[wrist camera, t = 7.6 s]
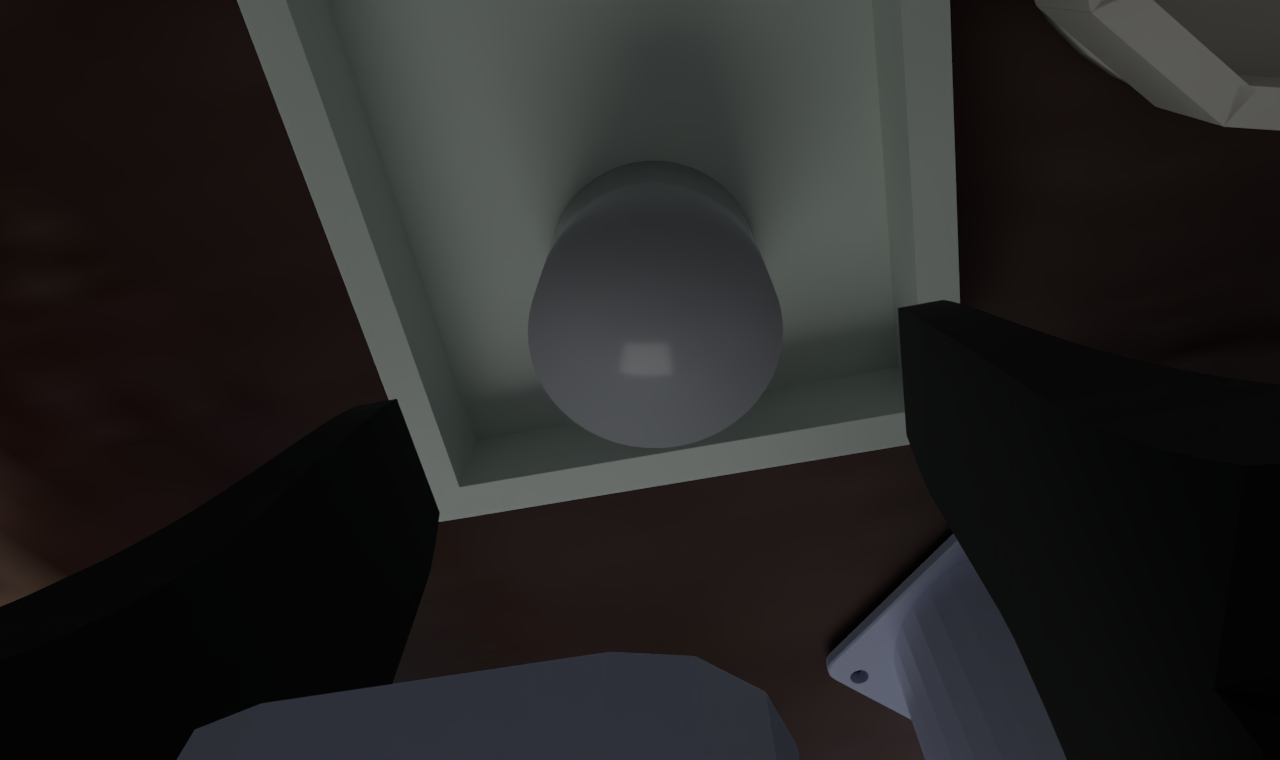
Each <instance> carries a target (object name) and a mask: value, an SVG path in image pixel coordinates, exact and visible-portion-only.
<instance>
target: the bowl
mask: <svg viewBox="0 0 1280 760" xmlns="http://www.w3.org/2000/svg"><path fill="white" fill-rule="evenodd" d="M1033 2H1034V3H1035V5H1036V6H1037V7H1038V9H1039V10H1040V11H1041V13H1042V14H1043V16H1044V17H1045V18H1046V20H1047V21H1048V22H1049V24H1050V25H1051V27H1052V28H1053V29H1054V30H1055V31H1056V32H1057V33H1058V34H1059V35H1060V36H1061V37H1062V38H1063V39H1064V40H1065V41H1066V42H1067V43H1068V44H1069V45H1070V46H1071V47H1072V48H1073V49H1074V50H1075V51H1076V52H1078V53H1079V54H1080V55H1081V56H1083V57H1084V58H1086V59H1087V60H1088V61H1090V62H1091V63H1093V64H1094V65H1095V66H1097V67H1098V68H1100V69H1101V70H1103V71H1104V72H1105V73H1107V74H1108V75H1110V76H1112V77H1114V78H1116V79H1119V80H1121V81H1123V82H1125V83H1127V84H1129V85H1130V86H1132V87H1133V88H1134V89H1135V90H1136V91H1138V92H1139V93H1140V94H1141V95H1142V96H1144V97H1145V98H1146V99H1147V100H1148V101H1149V102H1151V103H1152V104H1153V105H1154V106H1155V107H1158V108H1162V109H1165V110H1169V111H1172V112H1176V113H1179V114H1182V115H1186V116H1189V117H1193V118H1196V119H1200V120H1203V121H1206V122H1210V123H1213V124H1217V125H1220V126H1224V127H1236V128H1251V129H1266V130H1280V0H1033Z"/></svg>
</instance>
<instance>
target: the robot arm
mask: <svg viewBox="0 0 1280 760" xmlns="http://www.w3.org/2000/svg"><path fill="white" fill-rule="evenodd" d="M898 320H899V334H900V349H901V364H902V378H903V393H904V407H905V422H906V435H907V438H908V441H909V443H910V446H911V448H912V451H913V453H914V456H915V459H916V461H917V464H918V466H919V469H920V471H921V474H922V476H923V478H924V481H925V483H926V486H927V488H928V490H929V492H930V494H931V496H932V497H933V499H934V501H935V503H936V505H937V506H938V508H939V510H940V511H941V513H942V515H943V517H944V518H945V520H946V522H947V523H948V525H949V527H950V529H951V530H952V532H953V534H952V535H951V536H950V537H949V538H948V539H947V540H946V541H945V542H944V543H943V544H942V545H941V546H940V547H939V548H938V549H937V550H936V551H935V552H934V553H933V554H932V555H931V556H930V557H928V558H927V559H926V560H925V561H924V562H923V563H922V564H921V565H920V566H919V567H918V568H917V569H916V570H915V571H914V572H913V573H912V574H911V575H910V576H909V577H908V578H907V579H906V580H905V581H904V582H903V583H902V584H901V585H900V586H899V587H898V588H897V589H896V590H895V591H893V592H892V593H891V594H890V595H889V596H888V597H887V598H886V599H885V600H884V601H883V602H882V603H881V604H880V605H879V606H878V607H877V608H876V609H875V610H874V611H873V612H872V613H871V614H870V615H869V616H868V617H867V618H866V619H865V620H864V621H863V622H862V623H861V624H859V625H858V626H857V627H856V628H855V629H854V630H853V631H852V632H851V633H850V634H849V635H848V636H847V637H846V638H845V639H844V640H843V641H842V642H841V643H840V644H839V645H838V646H837V647H836V648H835V649H834V650H833V651H832V652H831V653H830V654H829V655H828V657H827V659H826V665H827V669H828V672H829V674H830V676H831V677H832V678H834V679H835V680H837V681H839V682H841V683H843V684H845V685H847V686H848V687H850V688H852V689H854V690H856V691H858V692H860V693H862V694H864V695H865V696H867V697H869V698H871V699H873V700H875V701H877V702H879V703H881V704H882V705H884V706H886V707H888V708H890V709H892V710H894V711H896V712H898V713H900V714H901V715H903V716H905V717H907V718H909V719H911V720H912V723H913V725H914V728H915V731H916V734H917V737H918V740H919V743H920V746H921V748H922V751H923V754H924V757H925V760H1280V385H1276V384H1268V383H1260V382H1251V381H1243V380H1236V379H1229V378H1223V377H1217V376H1211V375H1205V374H1199V373H1194V372H1189V371H1184V370H1179V369H1175V368H1170V367H1165V366H1160V365H1155V364H1150V363H1145V362H1141V361H1137V360H1133V359H1129V358H1125V357H1121V356H1118V355H1114V354H1111V353H1107V352H1104V351H1100V350H1097V349H1093V348H1090V347H1086V346H1083V345H1079V344H1076V343H1073V342H1070V341H1067V340H1063V339H1060V338H1057V337H1054V336H1051V335H1048V334H1045V333H1042V332H1039V331H1037V330H1034V329H1031V328H1028V327H1025V326H1022V325H1020V324H1017V323H1014V322H1011V321H1008V320H1006V319H1003V318H1000V317H997V316H995V315H992V314H989V313H986V312H984V311H981V310H978V309H975V308H972V307H969V306H966V305H963V304H960V303H956V302H952V301H947V300H939V301H934V302H928V303H922V304H917V305H911V306H906V307H900V308H898ZM439 515H440V512H439V509H438V507H437V504H436V501H435V499H434V496H433V493H432V491H431V488H430V485H429V483H428V480H427V477H426V475H425V472H424V470H423V467H422V464H421V462H420V459H419V456H418V454H417V451H416V448H415V446H414V443H413V440H412V438H411V435H410V432H409V430H408V427H407V424H406V422H405V419H404V416H403V414H402V411H401V408H400V406H399V403H398V400H397V399H393V400H387V401H382V402H376V403H370V404H365V405H359V406H356V407H354V408H351V409H349V410H347V411H345V412H343V413H341V414H340V415H338V416H336V417H334V418H333V419H331V420H329V421H328V422H326V423H325V424H323V425H321V426H320V427H318V428H317V429H315V430H314V431H312V432H311V433H309V434H308V435H306V436H305V437H303V438H302V439H300V440H299V441H298V442H296V443H295V444H293V445H292V446H290V447H289V448H287V449H286V450H284V451H283V452H281V453H280V454H279V455H277V456H276V457H274V458H273V459H271V460H270V461H268V462H267V463H265V464H264V465H263V466H261V467H260V468H258V469H257V470H255V471H254V472H252V473H251V474H249V475H248V476H246V477H245V478H243V479H242V480H240V481H238V482H237V483H235V484H234V485H232V486H231V487H229V488H228V489H226V490H224V491H223V492H221V493H220V494H218V495H217V496H215V497H214V498H212V499H210V500H209V501H207V502H206V503H204V504H203V505H201V506H200V507H198V508H197V509H195V510H193V511H192V512H190V513H189V514H187V515H185V516H184V517H182V518H180V519H179V520H177V521H175V522H173V523H172V524H170V525H168V526H166V527H165V528H163V529H161V530H159V531H158V532H156V533H154V534H152V535H150V536H149V537H147V538H145V539H143V540H141V541H139V542H137V543H136V544H134V545H132V546H130V547H128V548H126V549H124V550H123V551H121V552H119V553H117V554H115V555H113V556H111V557H109V558H107V559H105V560H103V561H101V562H99V563H97V564H95V565H92V566H90V567H88V568H86V569H84V570H82V571H79V572H77V573H75V574H73V575H71V576H69V577H67V578H64V579H62V580H60V581H58V582H56V583H54V584H51V585H49V586H47V587H45V588H43V589H41V590H38V591H36V592H34V593H32V594H30V595H28V596H25V597H23V598H21V599H18V600H16V601H14V602H11V603H9V604H6V605H4V606H1V607H0V760H800V759H799V754H798V749H797V745H796V743H795V741H794V739H793V738H792V736H791V734H790V733H789V731H788V729H787V728H786V726H785V724H784V723H783V721H782V719H781V717H780V716H779V714H778V712H777V711H776V709H775V707H774V706H773V704H772V702H771V701H770V699H769V697H768V695H767V694H766V692H765V691H763V690H761V689H759V688H757V687H755V686H753V685H751V684H749V683H747V682H745V681H743V680H741V679H739V678H737V677H735V676H733V675H731V674H729V673H727V672H725V671H723V670H721V669H719V668H717V667H715V666H714V665H712V664H710V663H708V662H706V661H704V660H702V659H700V658H698V657H696V656H683V655H663V654H643V653H623V652H606V653H599V654H592V655H585V656H579V657H572V658H565V659H558V660H552V661H545V662H538V663H531V664H525V665H518V666H511V667H504V668H498V669H491V670H484V671H477V672H471V673H464V674H457V675H450V676H444V677H437V678H430V679H423V680H417V681H410V682H403V683H396V684H392V683H393V680H394V677H395V674H396V671H397V668H398V665H399V662H400V659H401V656H402V654H403V651H404V648H405V645H406V642H407V639H408V636H409V633H410V630H411V627H412V624H413V622H414V619H415V616H416V613H417V610H418V607H419V604H420V601H421V598H422V595H423V592H424V589H425V586H426V582H427V579H428V576H429V573H430V569H431V564H432V559H433V553H434V548H435V542H436V536H437V529H438V522H439ZM858 670H863V671H861V672H860V673H853V672H855V671H858Z"/></svg>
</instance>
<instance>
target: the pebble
mask: <svg viewBox="0 0 1280 760" xmlns="http://www.w3.org/2000/svg"><path fill="white" fill-rule="evenodd" d="M782 338H783V323H782V313H781V309H780V304H779V300H778V297H777V294H776V292H775V289H774V286H773V284H772V281H771V278H770V276H769V273H768V271H767V268H766V266H765V263H764V260H763V258H762V255H761V253H760V250H759V248H758V245H757V242H756V240H755V237H754V235H753V232H752V230H751V227H750V225H749V222H748V219H747V218H746V216H745V214H744V212H743V210H742V208H741V207H740V205H739V204H738V203H737V201H736V200H735V198H734V197H733V196H732V195H731V194H730V193H729V192H728V191H727V190H726V189H725V188H724V187H723V186H722V185H721V184H719V183H718V182H717V181H715V180H714V179H713V178H711V177H709V176H708V175H706V174H704V173H703V172H701V171H698V170H696V169H694V168H691V167H689V166H685V165H682V164H678V163H674V162H666V161H642V162H634V163H630V164H626V165H622V166H619V167H617V168H614V169H612V170H609V171H607V172H605V173H603V174H602V175H600V176H598V177H597V178H595V179H593V180H592V181H591V182H590V183H588V184H587V185H586V186H585V187H583V188H582V189H581V190H580V191H579V192H578V193H577V195H576V196H575V197H574V198H573V199H572V201H571V202H570V203H569V205H568V206H567V207H566V209H565V211H564V213H563V214H562V216H561V218H560V220H559V223H558V225H557V228H556V231H555V234H554V237H553V240H552V243H551V246H550V249H549V252H548V255H547V258H546V261H545V264H544V267H543V270H542V273H541V276H540V279H539V282H538V285H537V288H536V291H535V294H534V297H533V300H532V304H531V309H530V313H529V320H528V344H529V350H530V355H531V360H532V363H533V366H534V369H535V372H536V374H537V377H538V379H539V380H540V382H541V384H542V386H543V388H544V390H545V391H546V393H547V394H548V395H549V397H550V398H551V400H552V401H553V402H554V403H555V404H556V405H557V407H558V408H559V409H560V410H561V411H562V412H563V413H564V414H565V415H567V416H568V417H569V418H570V419H571V420H573V421H574V422H575V423H576V424H578V425H580V426H581V427H583V428H584V429H586V430H587V431H589V432H591V433H593V434H595V435H597V436H599V437H601V438H604V439H607V440H610V441H612V442H615V443H619V444H624V445H628V446H633V447H642V448H667V447H676V446H681V445H686V444H690V443H694V442H697V441H700V440H703V439H705V438H708V437H710V436H712V435H714V434H716V433H718V432H720V431H722V430H724V429H725V428H727V427H728V426H730V425H732V424H733V423H735V422H736V421H737V420H738V419H740V418H741V417H742V416H743V415H744V414H746V413H747V412H748V411H749V409H750V408H751V407H752V406H753V405H754V404H755V403H756V402H757V401H758V399H759V398H760V397H761V395H762V394H763V393H764V391H765V390H766V388H767V386H768V384H769V383H770V381H771V379H772V377H773V375H774V372H775V369H776V367H777V364H778V361H779V357H780V353H781V348H782Z"/></svg>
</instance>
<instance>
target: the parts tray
mask: <svg viewBox="0 0 1280 760" xmlns="http://www.w3.org/2000/svg"><path fill="white" fill-rule="evenodd" d="M237 2H238V4H239V7H240V10H241V12H242V15H243V17H244V20H245V23H246V25H247V28H248V31H249V33H250V36H251V38H252V41H253V44H254V46H255V49H256V52H257V54H258V57H259V60H260V62H261V65H262V67H263V70H264V73H265V75H266V78H267V81H268V83H269V86H270V88H271V91H272V94H273V96H274V99H275V102H276V104H277V107H278V110H279V112H280V115H281V117H282V120H283V123H284V125H285V128H286V131H287V133H288V136H289V138H290V141H291V144H292V146H293V149H294V152H295V154H296V157H297V160H298V162H299V165H300V167H301V170H302V173H303V175H304V178H305V181H306V183H307V186H308V188H309V191H310V194H311V196H312V199H313V202H314V204H315V207H316V210H317V212H318V215H319V217H320V220H321V223H322V225H323V228H324V231H325V233H326V236H327V238H328V241H329V244H330V246H331V249H332V252H333V254H334V257H335V260H336V262H337V265H338V267H339V270H340V273H341V275H342V278H343V281H344V283H345V286H346V288H347V291H348V294H349V296H350V299H351V302H352V304H353V307H354V309H355V312H356V315H357V317H358V320H359V323H360V325H361V328H362V331H363V333H364V336H365V338H366V341H367V344H368V346H369V349H370V352H371V354H372V357H373V359H374V362H375V365H376V367H377V370H378V373H379V375H380V378H381V381H382V383H383V386H384V388H385V391H386V394H387V396H388V399H389V400H393V399H397V400H398V403H399V406H400V408H401V411H402V414H403V416H404V419H405V422H406V424H407V427H408V430H409V432H410V435H411V438H412V440H413V443H414V446H415V448H416V451H417V454H418V456H419V459H420V462H421V464H422V467H423V470H424V472H425V475H426V477H427V480H428V483H429V485H430V488H431V491H432V493H433V496H434V499H435V501H436V504H437V507H438V509H439V512H440V515H439V522H442V521H448V520H454V519H460V518H466V517H472V516H478V515H484V514H490V513H496V512H502V511H508V510H515V509H521V508H527V507H533V506H539V505H545V504H551V503H557V502H563V501H569V500H575V499H581V498H587V497H593V496H599V495H606V494H612V493H618V492H624V491H630V490H636V489H642V488H648V487H654V486H660V485H666V484H672V483H678V482H684V481H690V480H697V479H703V478H709V477H715V476H721V475H727V474H733V473H739V472H745V471H751V470H757V469H763V468H769V467H775V466H781V465H788V464H794V463H800V462H806V461H812V460H818V459H824V458H830V457H836V456H842V455H848V454H854V453H860V452H866V451H872V450H879V449H885V448H891V447H897V446H903V445H909V444H910V443H909V441H908V438H907V435H906V422H905V407H904V393H903V378H902V364H901V349H900V334H899V320H898V308H900V307H906V306H911V305H917V304H922V303H928V302H934V301H939V300H947V301H952V302H956V303H960V287H959V257H958V227H957V198H956V168H955V138H954V108H953V79H952V49H951V19H950V0H237ZM642 161H666V162H674V163H678V164H682V165H685V166H689V167H691V168H694V169H696V170H698V171H701V172H703V173H704V174H706V175H708V176H709V177H711V178H713V179H714V180H715V181H717V182H718V183H719V184H721V185H722V186H723V187H724V188H725V189H726V190H727V191H728V192H729V193H730V194H731V195H732V196H733V197H734V198H735V200H736V201H737V203H738V204H739V205H740V207H741V208H742V210H743V212H744V214H745V216H746V218H747V219H748V222H749V225H750V227H751V230H752V232H753V235H754V237H755V240H756V242H757V245H758V248H759V250H760V253H761V255H762V258H763V260H764V263H765V266H766V268H767V271H768V273H769V276H770V278H771V281H772V284H773V286H774V289H775V292H776V294H777V297H778V300H779V304H780V309H781V313H782V323H783V338H782V348H781V353H780V357H779V361H778V364H777V367H776V369H775V372H774V375H773V377H772V379H771V381H770V383H769V384H768V386H767V388H766V390H765V391H764V393H763V394H762V395H761V397H760V398H759V399H758V401H757V402H756V403H755V404H754V405H753V406H752V407H751V408H750V409H749V411H748V412H747V413H746V414H744V415H743V416H742V417H741V418H740V419H738V420H737V421H736V422H735V423H733V424H732V425H730V426H728V427H727V428H725V429H724V430H722V431H720V432H718V433H716V434H714V435H712V436H710V437H708V438H705V439H703V440H700V441H697V442H694V443H690V444H686V445H681V446H676V447H667V448H642V447H633V446H628V445H624V444H619V443H615V442H612V441H610V440H607V439H604V438H601V437H599V436H597V435H595V434H593V433H591V432H589V431H587V430H586V429H584V428H583V427H581V426H580V425H578V424H576V423H575V422H574V421H573V420H571V419H570V418H569V417H568V416H567V415H565V414H564V413H563V412H562V411H561V410H560V409H559V408H558V407H557V405H556V404H555V403H554V402H553V401H552V400H551V398H550V397H549V395H548V394H547V393H546V391H545V390H544V388H543V386H542V384H541V382H540V380H539V379H538V377H537V374H536V372H535V369H534V366H533V363H532V360H531V355H530V350H529V344H528V320H529V313H530V309H531V304H532V300H533V297H534V294H535V291H536V288H537V285H538V282H539V279H540V276H541V273H542V270H543V267H544V264H545V261H546V258H547V255H548V252H549V249H550V246H551V243H552V240H553V237H554V234H555V231H556V228H557V225H558V223H559V220H560V218H561V216H562V214H563V213H564V211H565V209H566V207H567V206H568V205H569V203H570V202H571V201H572V199H573V198H574V197H575V196H576V195H577V193H578V192H579V191H580V190H581V189H582V188H583V187H585V186H586V185H587V184H588V183H590V182H591V181H592V180H593V179H595V178H597V177H598V176H600V175H602V174H603V173H605V172H607V171H609V170H612V169H614V168H617V167H619V166H622V165H626V164H630V163H634V162H642Z"/></svg>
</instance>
